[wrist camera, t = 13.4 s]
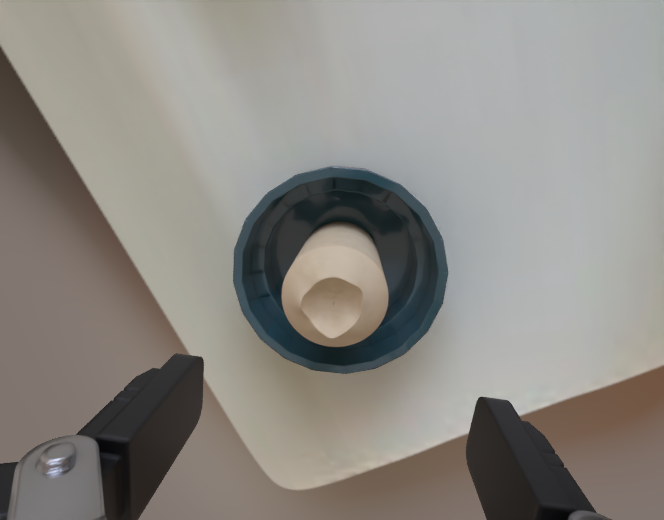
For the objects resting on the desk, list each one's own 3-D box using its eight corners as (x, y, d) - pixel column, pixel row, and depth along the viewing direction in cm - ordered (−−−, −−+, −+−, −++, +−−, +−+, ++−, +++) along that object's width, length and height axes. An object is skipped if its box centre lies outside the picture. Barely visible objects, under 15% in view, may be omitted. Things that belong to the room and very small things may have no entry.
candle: (371, 299, 29) (380, 369, 19) (298, 287, 29) (270, 351, 19) (384, 226, 27) (401, 262, 17) (307, 215, 27) (282, 244, 18)
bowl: (414, 147, 26) (427, 143, 21) (443, 322, 29) (461, 353, 24) (232, 189, 28) (206, 195, 23) (278, 352, 31) (264, 388, 26)
